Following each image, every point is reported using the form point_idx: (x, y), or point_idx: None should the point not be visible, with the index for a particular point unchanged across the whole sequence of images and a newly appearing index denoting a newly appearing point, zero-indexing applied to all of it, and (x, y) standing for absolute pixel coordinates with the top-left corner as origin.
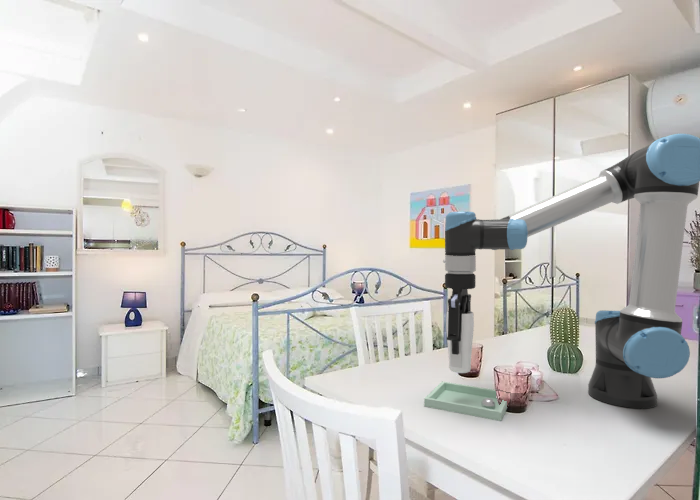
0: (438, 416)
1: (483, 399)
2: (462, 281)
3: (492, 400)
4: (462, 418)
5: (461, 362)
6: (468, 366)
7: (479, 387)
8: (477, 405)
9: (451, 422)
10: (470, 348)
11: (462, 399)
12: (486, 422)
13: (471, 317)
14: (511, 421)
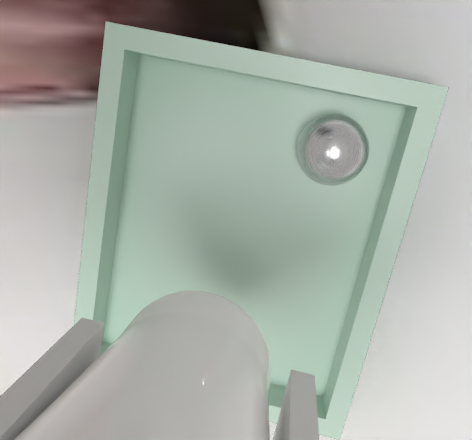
0: (407, 353)
1: (329, 178)
2: None
3: (341, 130)
4: (406, 258)
5: (314, 401)
6: (233, 320)
7: (92, 192)
8: (261, 196)
9: (462, 302)
10: (197, 396)
11: (203, 264)
12: (429, 156)
13: None
14: (389, 38)
